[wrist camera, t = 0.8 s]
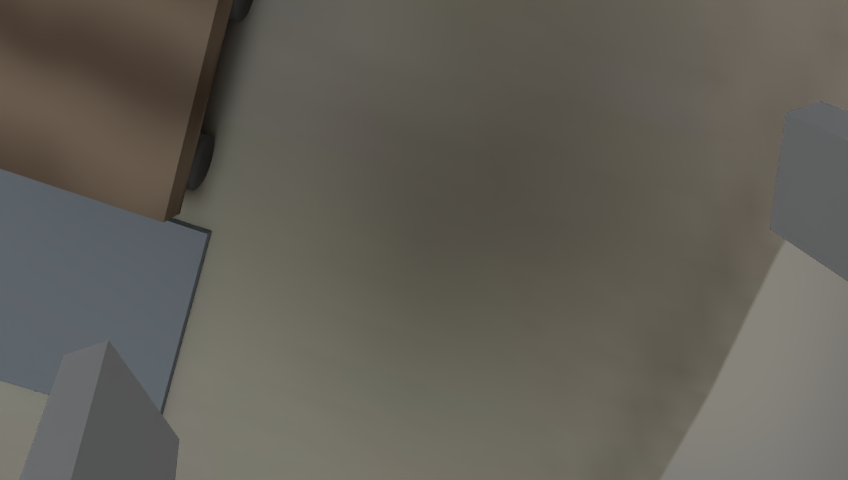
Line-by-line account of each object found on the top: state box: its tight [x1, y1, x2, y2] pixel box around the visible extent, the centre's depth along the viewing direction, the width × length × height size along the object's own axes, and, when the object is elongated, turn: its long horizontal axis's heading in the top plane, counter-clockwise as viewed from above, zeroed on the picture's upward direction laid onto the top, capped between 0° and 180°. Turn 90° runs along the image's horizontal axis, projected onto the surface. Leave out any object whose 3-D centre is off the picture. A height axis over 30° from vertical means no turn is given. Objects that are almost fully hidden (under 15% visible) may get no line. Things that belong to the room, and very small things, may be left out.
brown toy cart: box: [0, 0, 252, 223], centre depth 29 cm, size 14×10×5 cm
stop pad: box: [0, 169, 211, 414], centre depth 35 cm, size 13×12×1 cm
